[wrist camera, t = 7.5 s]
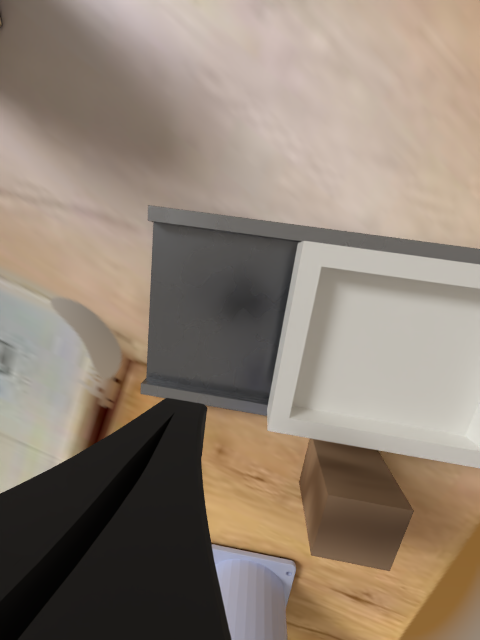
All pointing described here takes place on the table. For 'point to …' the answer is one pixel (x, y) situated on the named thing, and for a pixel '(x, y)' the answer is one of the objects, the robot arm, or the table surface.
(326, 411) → the white shallow tray
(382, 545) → the walnut block
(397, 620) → the table surface
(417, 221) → the table surface
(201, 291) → the track
